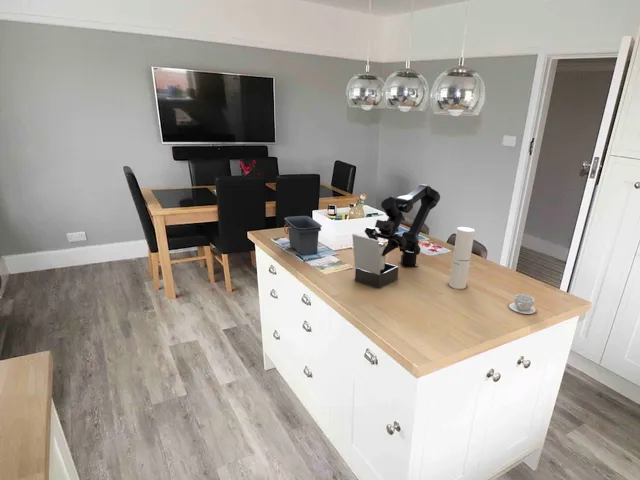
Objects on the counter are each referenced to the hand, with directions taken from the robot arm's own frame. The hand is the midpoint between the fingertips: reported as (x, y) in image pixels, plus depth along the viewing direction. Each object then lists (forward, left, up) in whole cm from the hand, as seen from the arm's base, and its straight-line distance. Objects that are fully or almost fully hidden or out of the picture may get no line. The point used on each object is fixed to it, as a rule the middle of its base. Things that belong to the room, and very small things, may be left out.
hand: (376, 253), depth 174 cm
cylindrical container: (-34, +11, -12) cm, 38 cm away
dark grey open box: (-1, -1, -12) cm, 12 cm away
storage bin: (+25, -45, -12) cm, 53 cm away
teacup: (-49, +37, -12) cm, 63 cm away
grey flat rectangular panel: (+5, +4, +2) cm, 7 cm away
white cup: (-1, -1, -7) cm, 7 cm away
